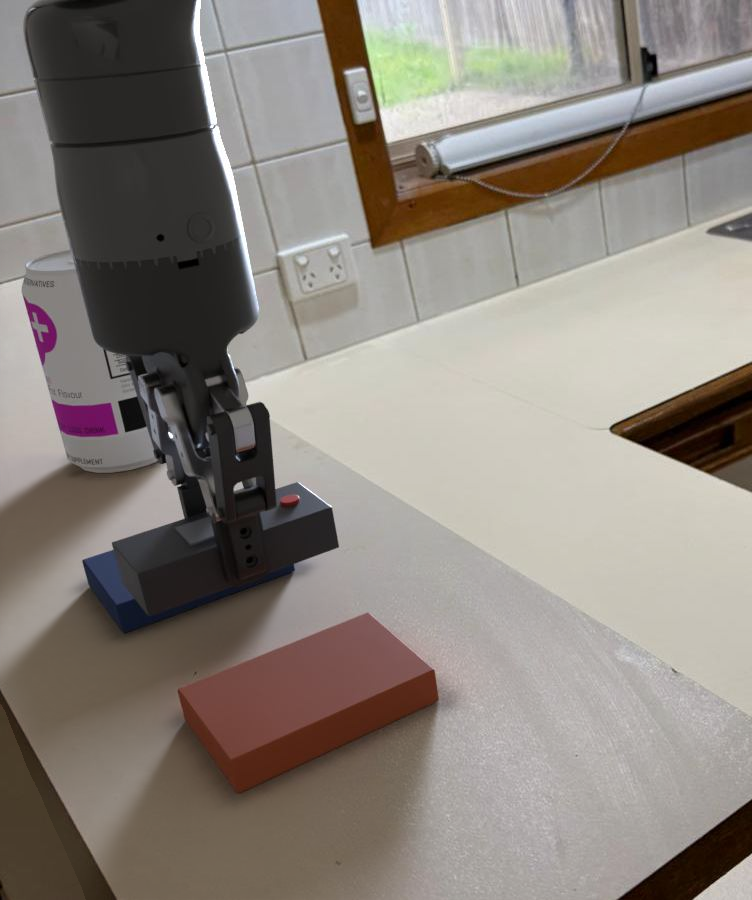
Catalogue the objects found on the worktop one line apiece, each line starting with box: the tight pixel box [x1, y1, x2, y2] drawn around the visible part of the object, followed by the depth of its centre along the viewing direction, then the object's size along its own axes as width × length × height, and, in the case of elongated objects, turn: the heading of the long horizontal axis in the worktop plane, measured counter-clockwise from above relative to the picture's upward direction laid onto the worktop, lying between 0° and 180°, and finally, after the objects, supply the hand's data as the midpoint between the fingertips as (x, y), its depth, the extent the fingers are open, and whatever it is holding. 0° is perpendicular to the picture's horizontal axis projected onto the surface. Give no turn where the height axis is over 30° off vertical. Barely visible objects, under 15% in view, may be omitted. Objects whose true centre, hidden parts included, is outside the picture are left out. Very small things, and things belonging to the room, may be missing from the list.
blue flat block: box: [81, 549, 296, 634], centre depth 67 cm, size 7×10×2 cm
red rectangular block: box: [177, 612, 440, 794], centre depth 54 cm, size 7×10×2 cm
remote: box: [111, 481, 340, 617], centre depth 59 cm, size 10×4×3 cm, turn 127°
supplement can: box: [21, 248, 170, 474], centre depth 83 cm, size 8×8×15 cm
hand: (231, 560), depth 59 cm, fingers closed on remote, 4 cm apart
